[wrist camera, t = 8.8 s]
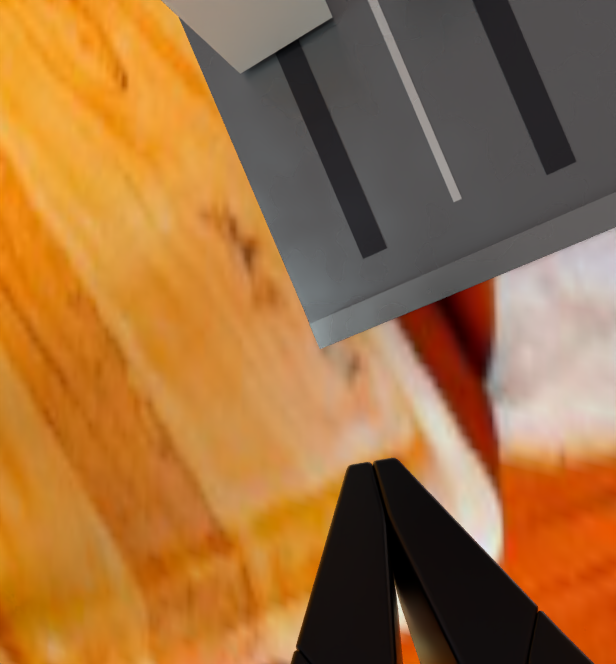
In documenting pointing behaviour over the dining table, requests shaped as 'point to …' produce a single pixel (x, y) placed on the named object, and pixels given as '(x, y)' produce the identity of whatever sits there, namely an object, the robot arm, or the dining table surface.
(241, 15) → the fader white
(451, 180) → the console
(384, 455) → the dining table surface
